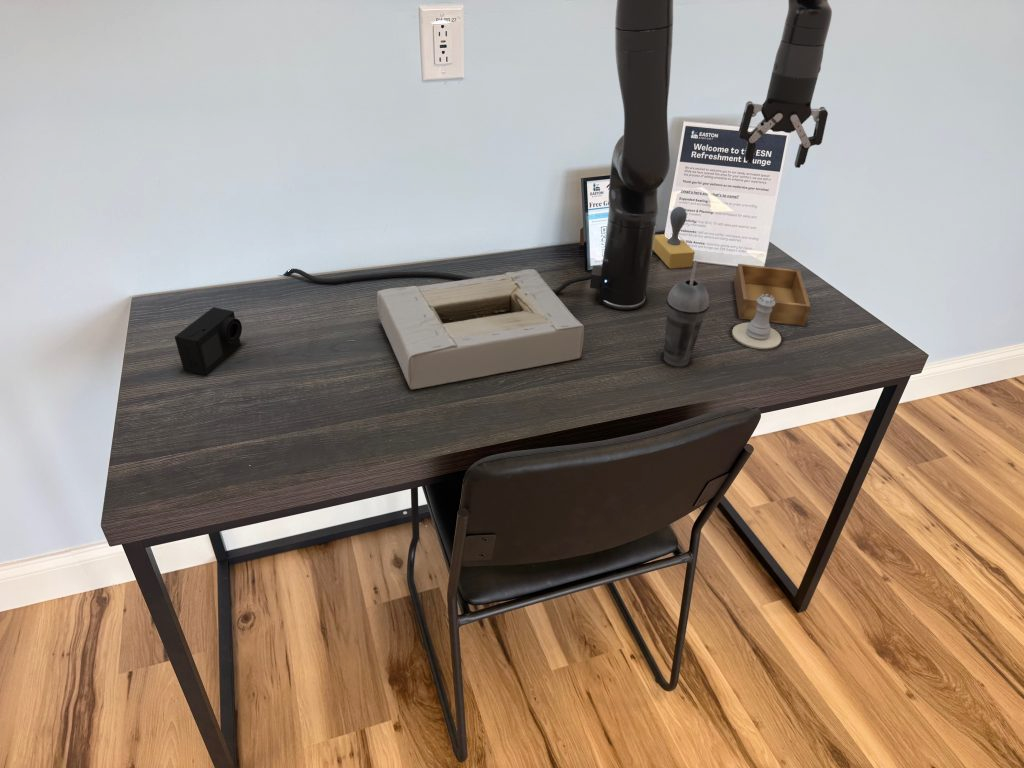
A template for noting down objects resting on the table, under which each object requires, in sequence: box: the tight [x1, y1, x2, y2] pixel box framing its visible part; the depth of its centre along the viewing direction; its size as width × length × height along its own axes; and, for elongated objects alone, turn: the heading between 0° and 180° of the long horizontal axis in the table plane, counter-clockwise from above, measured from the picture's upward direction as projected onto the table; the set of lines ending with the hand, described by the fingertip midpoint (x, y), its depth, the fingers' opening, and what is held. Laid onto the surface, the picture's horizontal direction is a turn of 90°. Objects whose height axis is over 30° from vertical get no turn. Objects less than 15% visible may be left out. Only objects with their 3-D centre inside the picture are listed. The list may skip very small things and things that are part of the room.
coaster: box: [731, 322, 782, 350], centre depth 139 cm, size 9×9×1 cm
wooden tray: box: [733, 263, 812, 327], centre depth 148 cm, size 13×16×4 cm
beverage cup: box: [663, 259, 710, 367], centre depth 126 cm, size 7×7×20 cm
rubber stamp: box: [652, 206, 696, 270], centre depth 162 cm, size 10×6×12 cm, turn 13°
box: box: [376, 268, 585, 390], centre depth 132 cm, size 23×8×32 cm
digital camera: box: [174, 307, 243, 376], centre depth 125 cm, size 10×5×7 cm, turn 163°
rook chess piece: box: [746, 294, 775, 340], centre depth 136 cm, size 4×4×8 cm
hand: (772, 164), depth 134 cm, fingers open, 8 cm apart
